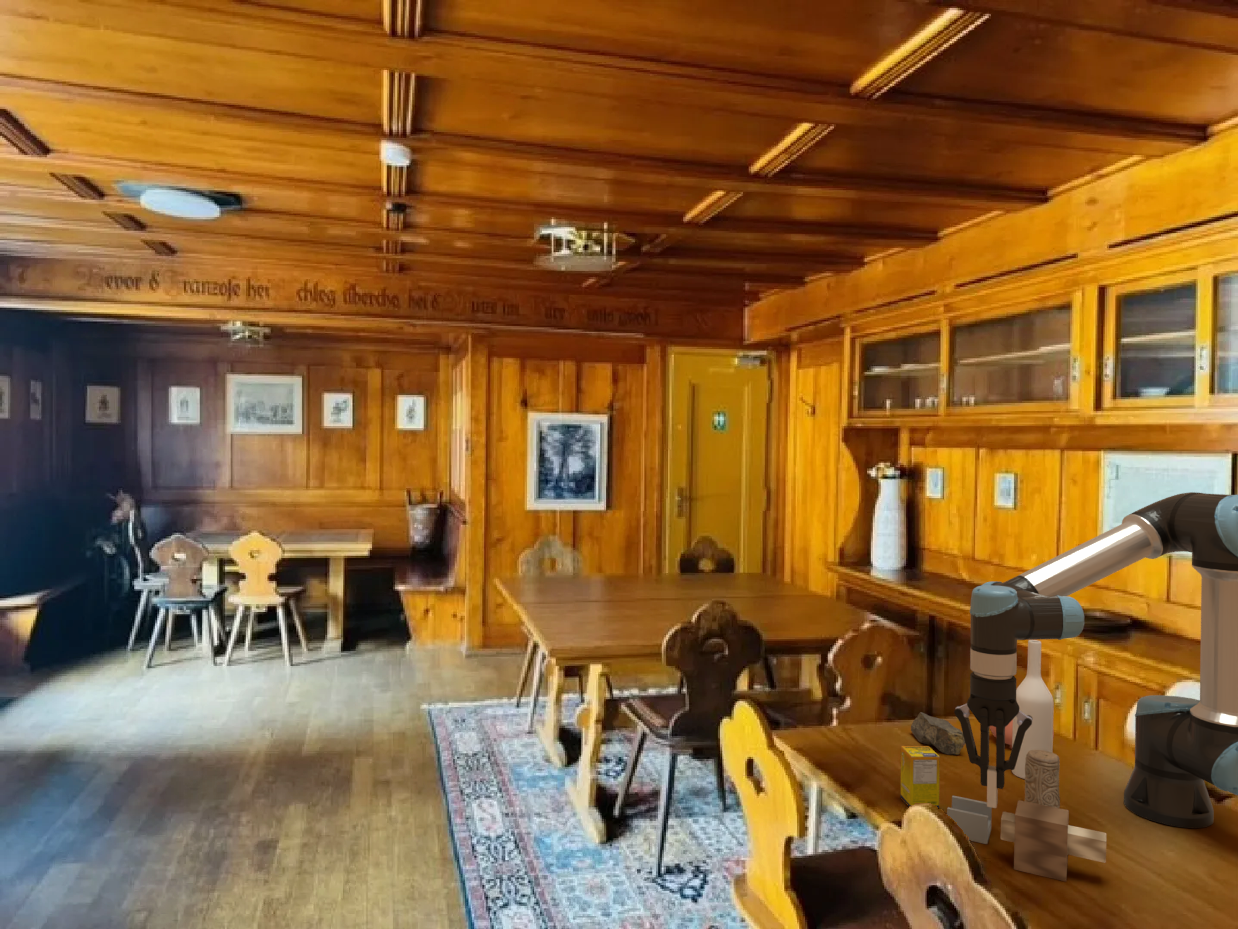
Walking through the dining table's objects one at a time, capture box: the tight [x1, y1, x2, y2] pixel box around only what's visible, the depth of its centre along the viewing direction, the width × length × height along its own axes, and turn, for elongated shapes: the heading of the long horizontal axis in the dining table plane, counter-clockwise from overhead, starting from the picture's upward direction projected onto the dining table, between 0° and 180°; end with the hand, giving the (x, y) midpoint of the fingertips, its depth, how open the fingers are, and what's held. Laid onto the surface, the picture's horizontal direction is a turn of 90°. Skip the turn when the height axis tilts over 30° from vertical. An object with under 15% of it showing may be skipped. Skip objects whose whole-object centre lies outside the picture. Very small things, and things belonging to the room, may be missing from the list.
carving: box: [1024, 750, 1061, 808], centre depth 167 cm, size 6×8×12 cm
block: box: [1013, 799, 1070, 882], centre depth 145 cm, size 8×7×10 cm
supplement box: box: [900, 745, 941, 809], centre depth 171 cm, size 6×6×11 cm
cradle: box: [946, 795, 993, 845], centre depth 158 cm, size 7×7×5 cm
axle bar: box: [1000, 811, 1107, 864], centre depth 144 cm, size 16×4×4 cm, turn 60°
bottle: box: [1011, 639, 1054, 780], centre depth 186 cm, size 8×8×30 cm
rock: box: [910, 712, 966, 756], centre depth 204 cm, size 17×7×10 cm
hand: (992, 804), depth 149 cm, fingers closed
